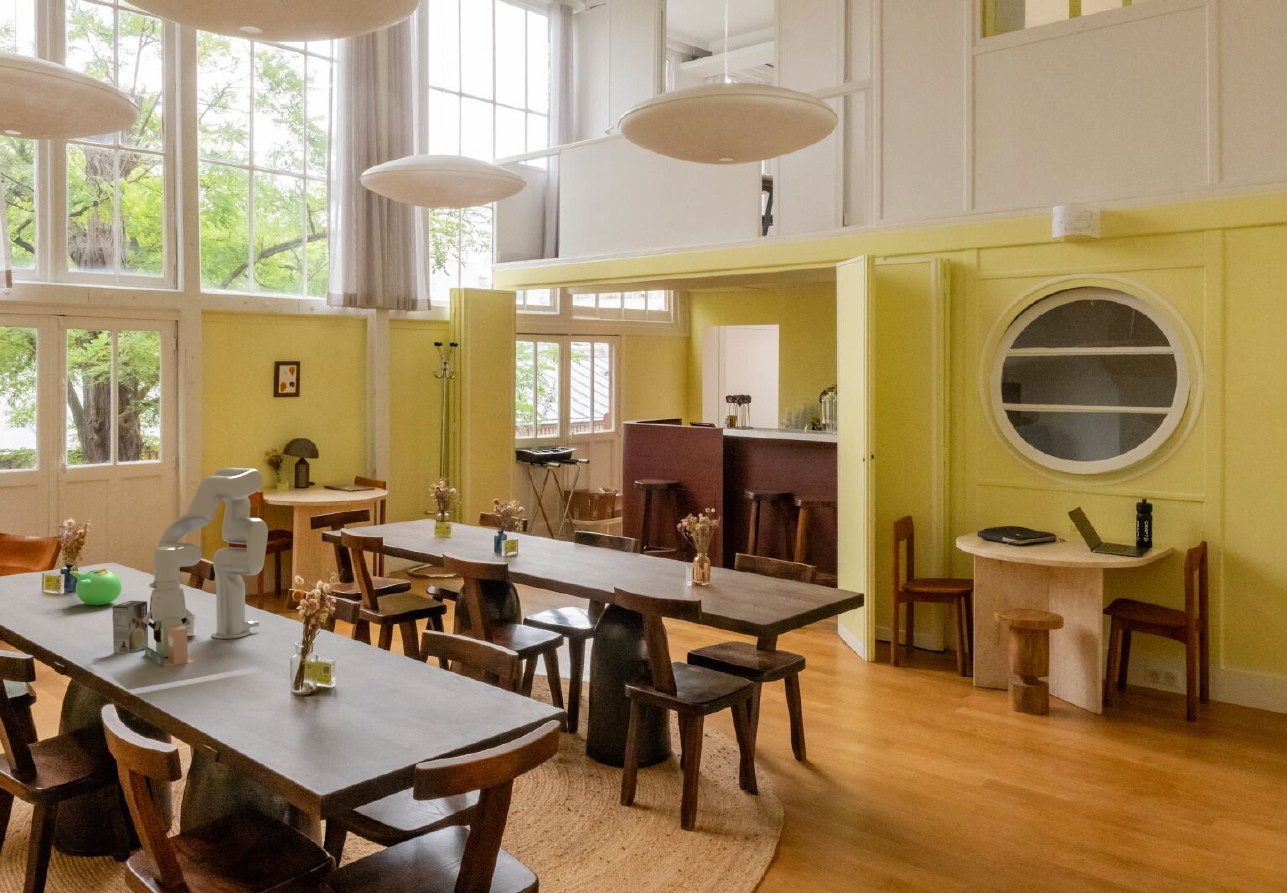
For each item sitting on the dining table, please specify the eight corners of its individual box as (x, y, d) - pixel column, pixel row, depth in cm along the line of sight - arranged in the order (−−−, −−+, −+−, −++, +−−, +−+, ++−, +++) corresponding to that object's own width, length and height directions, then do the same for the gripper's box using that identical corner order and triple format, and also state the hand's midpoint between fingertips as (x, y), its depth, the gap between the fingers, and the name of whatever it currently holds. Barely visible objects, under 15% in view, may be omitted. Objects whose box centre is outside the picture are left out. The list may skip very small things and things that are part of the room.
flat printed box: (180, 653, 328) (180, 640, 328) (199, 665, 315) (198, 651, 315) (144, 659, 321) (144, 645, 321) (162, 671, 308) (161, 657, 307)
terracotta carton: (181, 658, 317) (181, 624, 316) (187, 662, 313) (187, 628, 312) (167, 660, 314) (167, 626, 314) (173, 664, 310) (173, 630, 309)
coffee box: (132, 646, 336) (131, 599, 335) (148, 647, 335) (148, 601, 334) (112, 653, 327) (112, 605, 326) (129, 654, 326) (128, 606, 325)
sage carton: (180, 654, 320) (179, 617, 319) (163, 657, 316) (163, 620, 315) (172, 649, 326) (171, 613, 325) (155, 651, 322) (155, 615, 321)
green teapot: (128, 605, 396) (127, 569, 395) (81, 611, 384) (81, 574, 383) (112, 598, 408) (111, 563, 407) (66, 604, 396) (66, 568, 395)
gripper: (142, 590, 311) (142, 646, 312) (198, 583, 322) (199, 638, 324) (135, 586, 316) (135, 642, 318) (190, 580, 328) (191, 633, 329)
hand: (167, 639), depth 321 cm, fingers open, 5 cm apart
